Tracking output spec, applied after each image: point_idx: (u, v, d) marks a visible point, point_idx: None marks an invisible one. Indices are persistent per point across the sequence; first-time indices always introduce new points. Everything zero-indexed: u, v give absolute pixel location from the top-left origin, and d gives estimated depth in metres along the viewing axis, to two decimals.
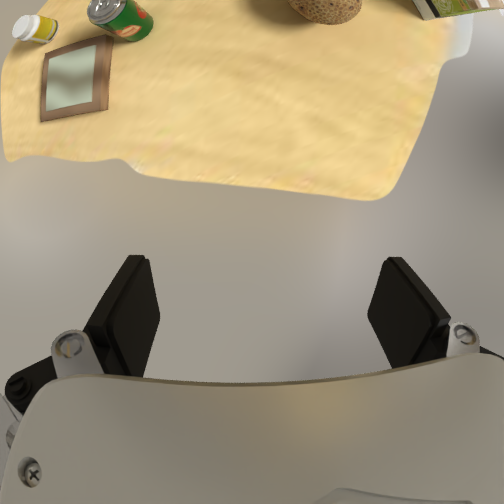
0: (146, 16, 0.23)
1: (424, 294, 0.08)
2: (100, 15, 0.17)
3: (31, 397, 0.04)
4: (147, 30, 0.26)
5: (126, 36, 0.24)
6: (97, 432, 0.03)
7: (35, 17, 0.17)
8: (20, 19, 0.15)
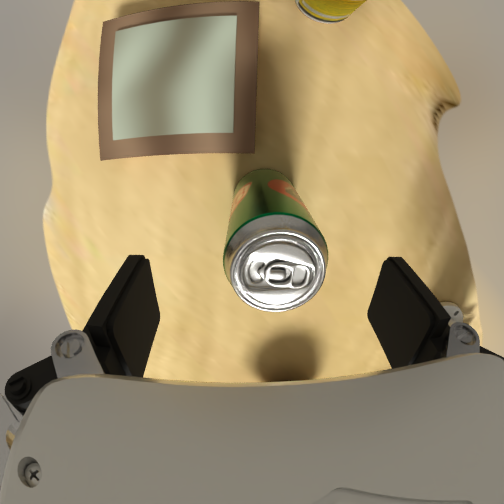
0: None
1: (424, 294, 0.08)
2: (242, 273, 0.12)
3: (31, 397, 0.04)
4: None
5: None
6: (97, 432, 0.03)
7: None
8: None
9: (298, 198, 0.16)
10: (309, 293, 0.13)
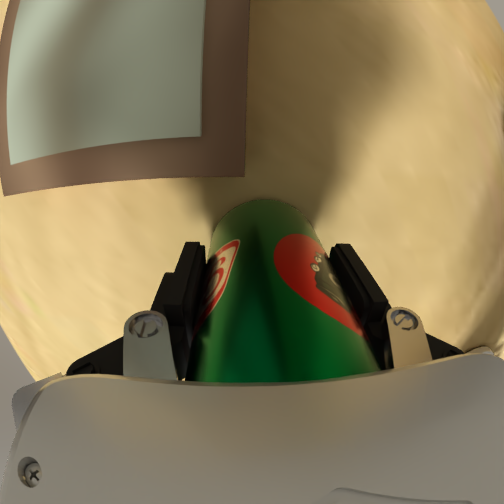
0: None
1: (363, 278, 0.08)
2: None
3: None
4: None
5: None
6: (97, 432, 0.03)
7: None
8: None
9: (342, 296, 0.07)
10: None
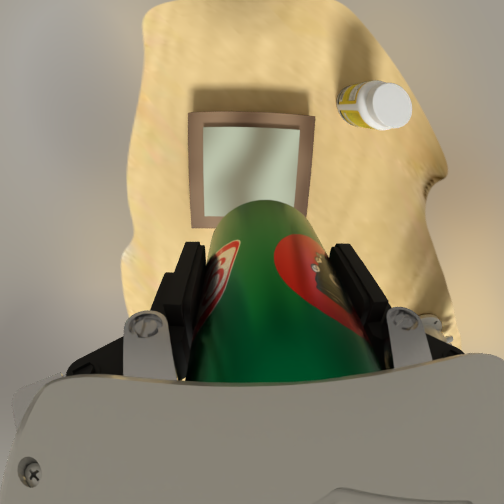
0: None
1: (363, 278, 0.08)
2: None
3: None
4: None
5: None
6: (97, 432, 0.03)
7: None
8: (407, 105, 0.18)
9: (343, 297, 0.07)
10: None
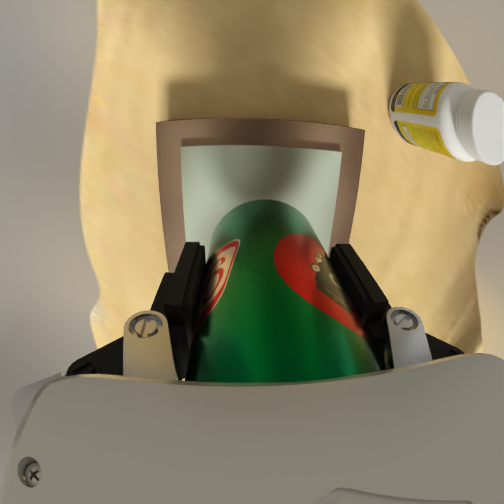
0: None
1: (363, 278, 0.08)
2: None
3: None
4: None
5: None
6: (97, 432, 0.03)
7: None
8: None
9: (343, 296, 0.07)
10: None
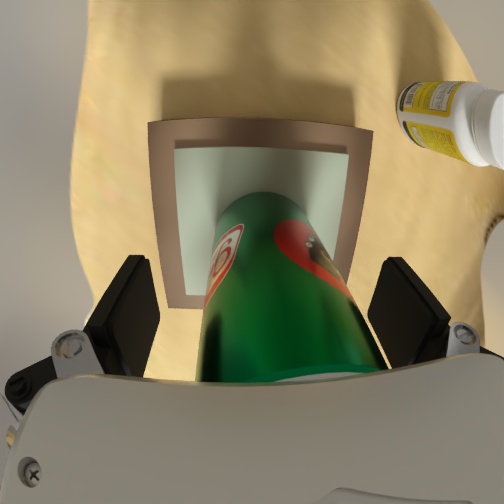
0: None
1: (424, 294, 0.08)
2: None
3: (31, 397, 0.04)
4: None
5: None
6: (97, 432, 0.03)
7: None
8: None
9: (332, 267, 0.08)
10: None
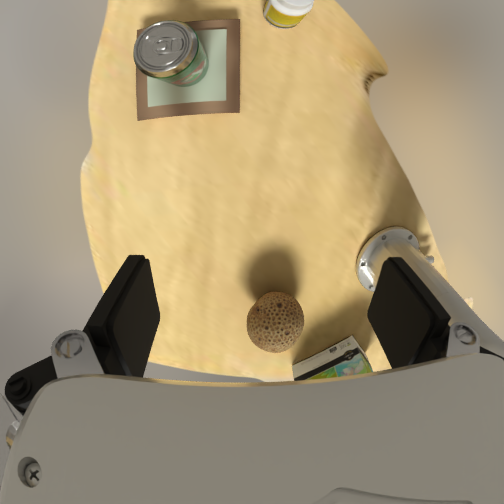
0: (183, 84, 0.23)
1: (424, 294, 0.08)
2: (141, 48, 0.14)
3: (31, 397, 0.04)
4: None
5: None
6: (97, 432, 0.03)
7: (305, 9, 0.19)
8: None
9: None
10: (183, 56, 0.15)
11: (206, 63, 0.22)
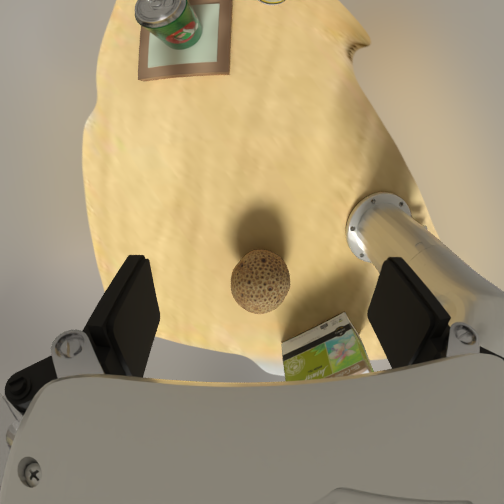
0: (177, 43, 0.23)
1: (424, 294, 0.08)
2: (140, 6, 0.15)
3: (31, 397, 0.04)
4: (169, 46, 0.25)
5: None
6: (97, 432, 0.03)
7: None
8: None
9: None
10: (173, 10, 0.16)
11: (198, 27, 0.23)
